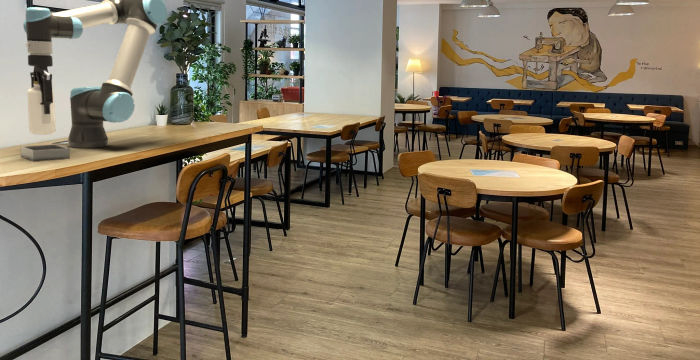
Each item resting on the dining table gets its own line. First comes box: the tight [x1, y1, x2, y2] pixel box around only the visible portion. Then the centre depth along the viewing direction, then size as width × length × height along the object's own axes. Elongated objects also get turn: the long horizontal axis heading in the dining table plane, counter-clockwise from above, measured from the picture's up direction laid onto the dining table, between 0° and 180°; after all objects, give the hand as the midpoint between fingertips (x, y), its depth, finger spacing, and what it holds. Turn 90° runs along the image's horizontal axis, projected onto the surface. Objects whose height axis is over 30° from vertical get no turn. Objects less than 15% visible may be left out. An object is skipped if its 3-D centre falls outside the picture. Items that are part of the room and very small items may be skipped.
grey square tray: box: [20, 144, 71, 162], centre depth 222 cm, size 12×12×4 cm
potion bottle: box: [26, 81, 57, 136], centre depth 219 cm, size 8×8×18 cm
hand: (43, 122), depth 220 cm, fingers open, 5 cm apart
